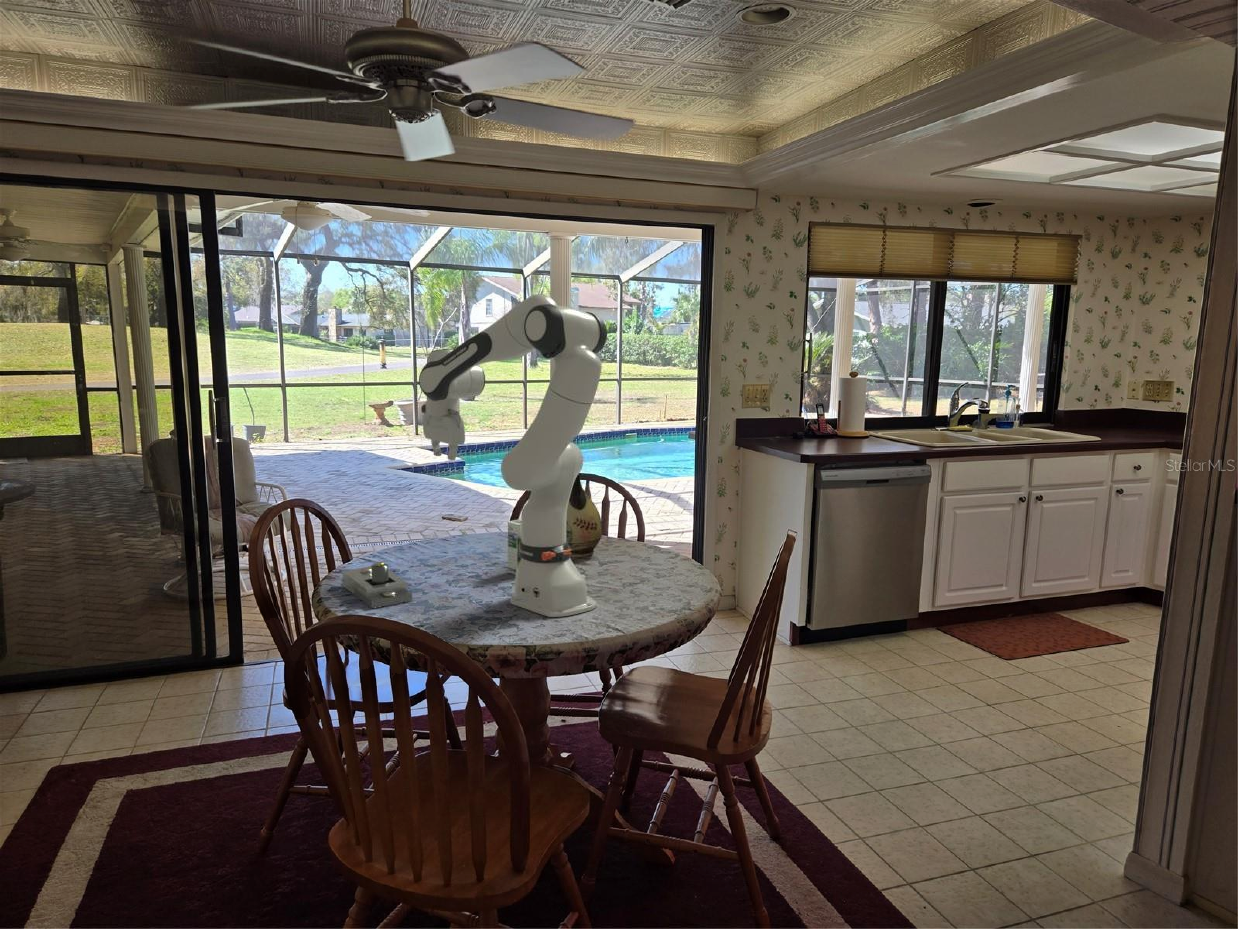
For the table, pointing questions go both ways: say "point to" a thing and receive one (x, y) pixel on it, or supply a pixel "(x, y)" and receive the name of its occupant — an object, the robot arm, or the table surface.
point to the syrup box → (514, 545)
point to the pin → (379, 573)
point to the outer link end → (363, 582)
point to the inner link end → (385, 598)
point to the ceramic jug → (582, 522)
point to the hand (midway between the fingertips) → (444, 457)
